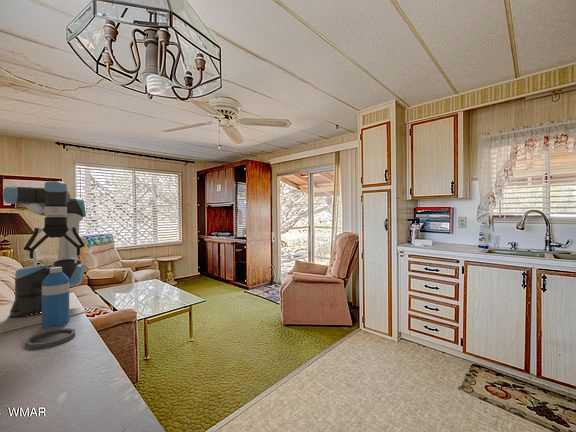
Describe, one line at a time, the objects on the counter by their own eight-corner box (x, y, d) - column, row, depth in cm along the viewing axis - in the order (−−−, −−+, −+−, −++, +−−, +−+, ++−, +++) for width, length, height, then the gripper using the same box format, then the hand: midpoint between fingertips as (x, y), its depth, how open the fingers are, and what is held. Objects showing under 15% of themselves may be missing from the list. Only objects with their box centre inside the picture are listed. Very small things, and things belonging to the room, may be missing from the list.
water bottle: (44, 330, 110) (44, 270, 111) (39, 325, 116) (39, 268, 116) (72, 323, 118) (72, 267, 118) (66, 319, 123) (66, 265, 124)
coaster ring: (29, 338, 102) (29, 334, 102) (76, 329, 111) (76, 325, 111) (21, 352, 91) (21, 348, 91) (73, 341, 99) (73, 337, 99)
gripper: (14, 216, 107) (14, 269, 107) (91, 216, 122) (91, 262, 121) (18, 216, 113) (18, 266, 113) (91, 216, 128) (91, 260, 127)
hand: (56, 264), depth 117 cm, fingers open, 13 cm apart
